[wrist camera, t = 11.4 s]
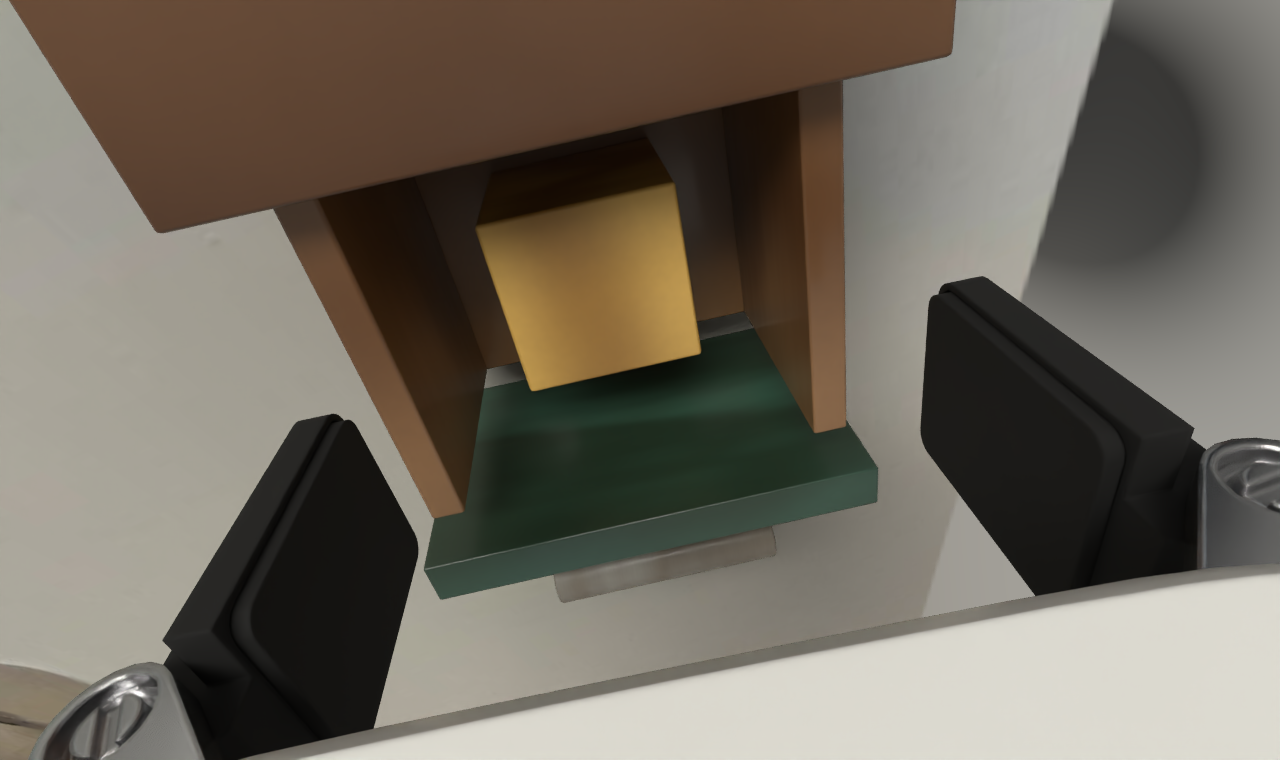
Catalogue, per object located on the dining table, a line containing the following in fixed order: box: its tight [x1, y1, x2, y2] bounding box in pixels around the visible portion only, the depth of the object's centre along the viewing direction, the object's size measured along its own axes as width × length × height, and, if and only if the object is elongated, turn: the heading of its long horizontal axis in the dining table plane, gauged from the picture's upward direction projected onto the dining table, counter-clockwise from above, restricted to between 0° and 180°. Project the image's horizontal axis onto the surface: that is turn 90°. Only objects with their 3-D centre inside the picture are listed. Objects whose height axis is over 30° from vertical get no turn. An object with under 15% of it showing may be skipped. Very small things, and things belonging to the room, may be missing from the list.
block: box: [475, 138, 701, 391], centre depth 17 cm, size 4×4×4 cm
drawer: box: [274, 80, 878, 603], centre depth 17 cm, size 18×11×8 cm, turn 11°
